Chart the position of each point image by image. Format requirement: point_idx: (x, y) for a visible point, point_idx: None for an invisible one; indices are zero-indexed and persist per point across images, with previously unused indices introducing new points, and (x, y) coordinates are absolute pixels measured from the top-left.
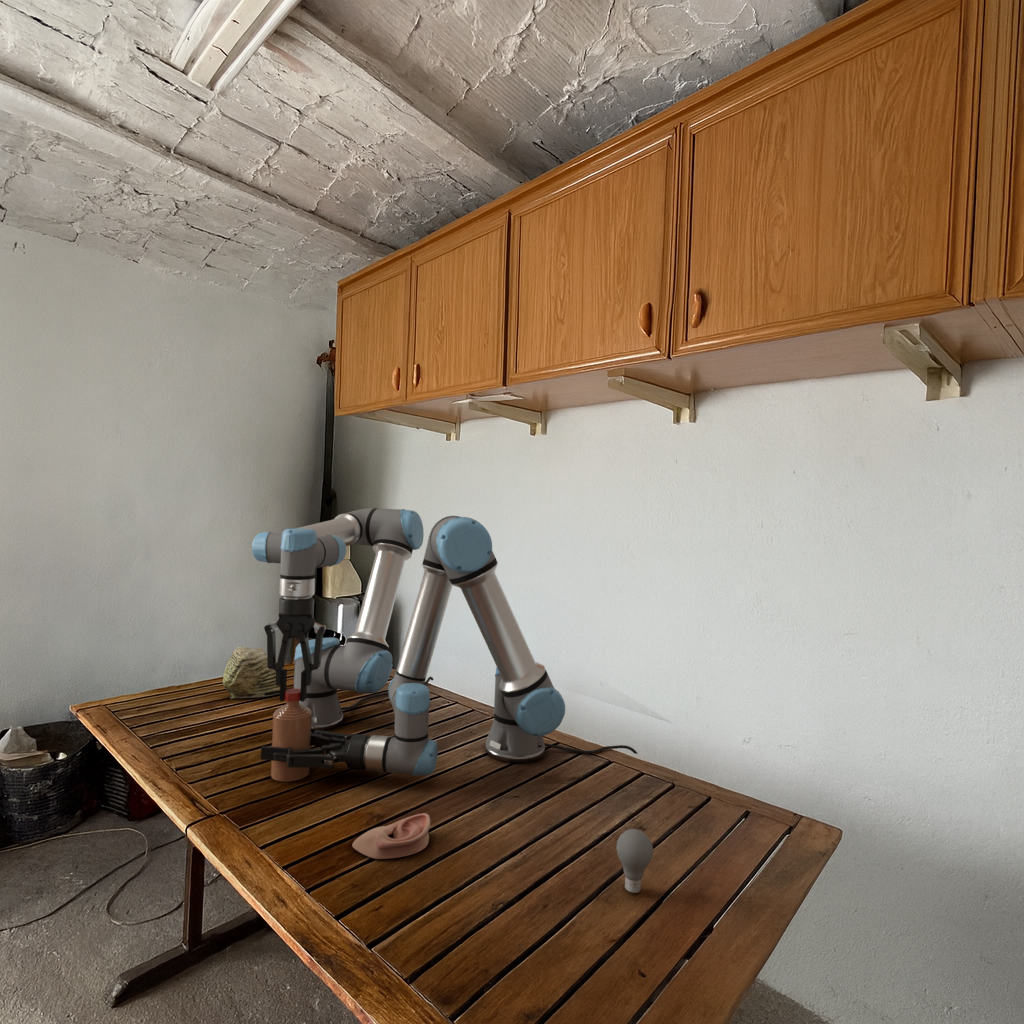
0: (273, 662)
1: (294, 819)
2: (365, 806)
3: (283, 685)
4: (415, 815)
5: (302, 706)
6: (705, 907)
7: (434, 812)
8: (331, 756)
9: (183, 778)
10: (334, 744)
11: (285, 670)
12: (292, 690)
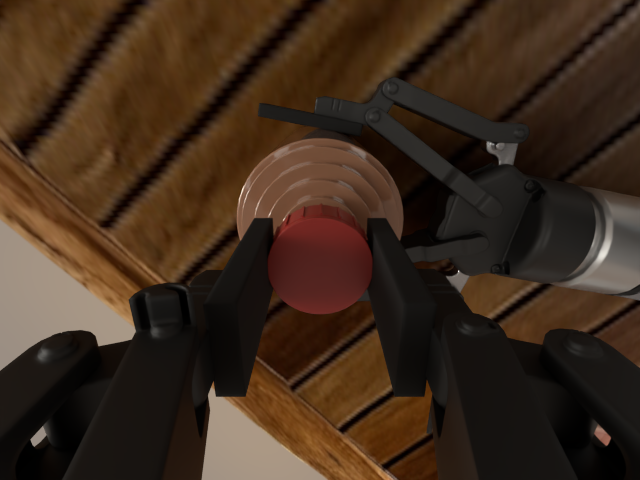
0: (75, 414)
1: (374, 363)
2: (502, 323)
3: (262, 325)
4: (601, 432)
5: (364, 225)
6: None
7: (631, 343)
8: None
9: (73, 202)
10: (467, 245)
11: (236, 343)
12: (311, 257)
